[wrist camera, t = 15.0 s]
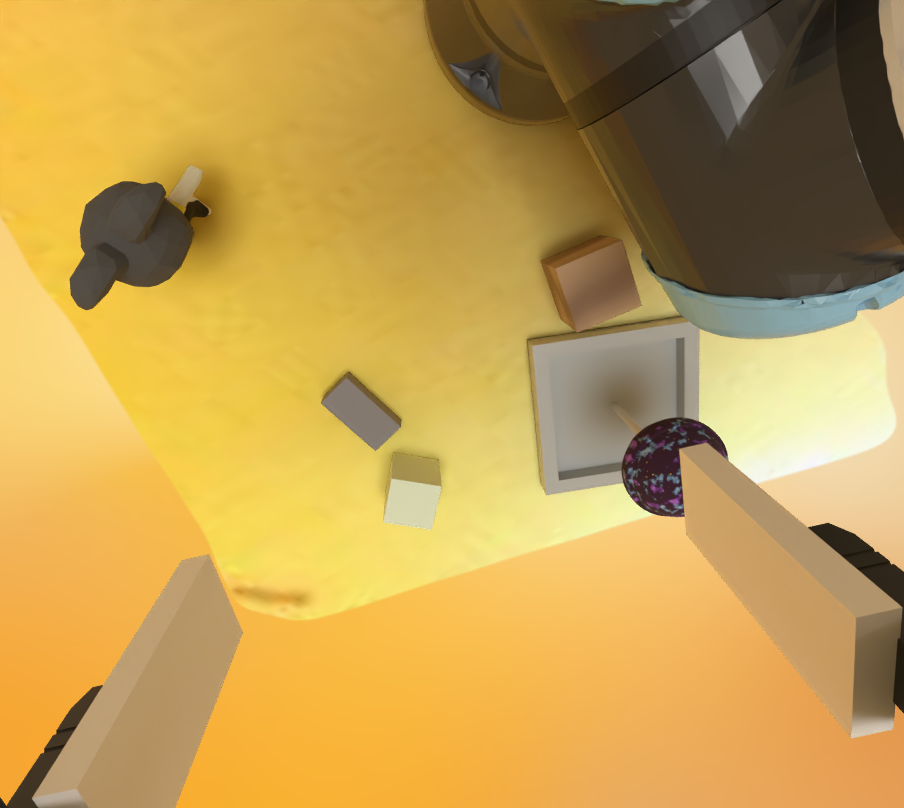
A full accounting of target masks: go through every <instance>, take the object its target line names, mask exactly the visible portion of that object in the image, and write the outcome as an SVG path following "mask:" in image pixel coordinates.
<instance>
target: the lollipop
mask: <svg viewBox="0 0 904 808" xmlns="http://www.w3.org/2000/svg"><path fill="white" fill-rule="evenodd" d="M611 408H612V409H613V411H614V412H615V413H616V414H617V415H618V416H619V417H620V418H621V419H622V420H623V421H624V422H625V423H626V424H627V425H628V426H629V427H630V429H631V430H632V431H633V432H634V433H635V434H636V436H635V437H634V438H633V439H632V441H631V442H630V444H629V446H628V448H627V450H626V452H625V454H624V457H623V461H622V469H621V471H622V479H623V483H624V486H625V488H626V490H627V492H628V494H629V495H630V497H631V498H632V499H633V500H634V501H635V503H637V504H638V505H639V506H640V507H641V508H643V509H644V510H646V511H648V512H650V513H653V514H656V515H660V516H670V517H685V513H684V501H683V489H682V477H681V465H680V453H679V449H681V448H686V447H690V446H695V445H699V444H704V443H708V444H709V445H710V446H711V447H713V448H714V449H715V450H716V451H717V452H718V453H720V454H721V455H722V456H723V457H724V458H726V459H727V460H728V454H727V450H726V448H725V445H724V443H723V441H722V440H721V439H720V437H719V436H718V435H717V434H716V433H715V432H714V431H713V430H712V429H711V428H709V427H708V426H706V425H705V424H703V423H701V422H699V421H697V420H694V419H690V418H683V417H675V418H668V419H664V420H661V421H658V422H655V423H653V424H650V425H649V426H647V427H645V428H644V429H642V428H641V427H640V426H639V425H638V424H637V423H636V422H635V421H634V420H633V419H632V418H631V417H630V416H629V415H628V414H627V413H626V412H625V411H624V410H623V409H622V408H621V407H620V406H619V405H618V404H617V403H616V402H614V403H612V404H611Z"/></svg>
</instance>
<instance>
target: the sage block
mask: <svg viewBox="0 0 904 808" xmlns="http://www.w3.org/2000/svg"><path fill="white" fill-rule="evenodd" d="M441 487H442V485H441V476H440V467H439V460H437V459H431V458H425V457H418V456H412V455H406V454H400V453H394V452H393V457H392V462H391V467H390V472H389V477H388V483H387V488H386V493H385V505H384V518H383V523H390V524H396V525H403V526H410V527H417V528H424V529H431V530H432V526H433V522H434V518H435V513H436V509H437V505H438V500H439V496H440V492H441Z"/></svg>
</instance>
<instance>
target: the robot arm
mask: <svg viewBox="0 0 904 808" xmlns="http://www.w3.org/2000/svg"><path fill="white" fill-rule="evenodd" d="M424 14H425V22H426V27H427V32H428V36H429V40H430V43H431V46H432V49H433V51H434V54H435V56H436V59H437V61H438V63H439V65H440V67H441V69H442V70H443V72H444V74H445V75H446V77H447V78H448V80H449V81H450V82H451V84H452V85H453V86H454V88H455V89H456V90H457V91H458V92H459V93H460V94H461V95H462V96H463V97H464V98H465V99H466V100H467V101H468V102H469V103H471V104H472V105H473V106H475V107H476V108H477V109H479V110H481V111H482V112H484V113H486V114H488V115H490V116H492V117H494V118H497V119H499V120H502V121H505V122H509V123H514V124H520V125H540V124H547V123H552V122H556V121H560V120H562V119H565V118H568V117H570V116H571V117H572V119H573V121H574V123H575V125H576V127H577V130H578V132H579V134H580V136H581V138H582V140H583V141H584V143H585V145H586V147H587V149H588V151H589V153H590V154H591V156H592V158H593V160H594V162H595V164H596V166H597V167H598V169H599V171H600V173H601V175H602V177H603V179H604V180H605V182H606V184H607V186H608V188H609V190H610V192H611V193H612V195H613V197H614V199H615V201H616V203H617V205H618V206H619V208H620V210H621V212H622V214H623V216H624V218H625V220H626V221H627V223H628V225H629V227H630V229H631V231H632V233H633V234H634V236H635V238H636V240H637V242H638V244H639V246H640V247H641V249H642V252H641V256H642V259H643V262H644V264H645V266H646V268H647V270H648V272H649V273H650V274H651V275H652V276H654V278H655V279H656V280H657V281H658V282H659V283H660V284H661V285H662V287H663V289H664V290H665V292H666V294H667V295H668V297H669V299H670V300H671V302H672V304H673V305H674V307H675V308H676V310H677V311H678V312H679V313H680V314H681V315H682V317H684V318H686V319H687V320H688V321H689V322H691V323H692V324H693V325H694V326H696V327H698V328H700V329H702V330H704V331H707V332H710V333H713V334H716V335H720V336H725V337H731V338H740V339H772V338H784V337H792V336H798V335H803V334H808V333H813V332H817V331H821V330H825V329H829V328H833V327H836V326H839V325H842V324H845V323H848V322H851V321H853V320H855V318H856V316H857V311H860V310H865V309H871V310H872V309H873V310H876V309H877V310H878V309H881V308H883V307H885V306H887V305H889V304H891V303H893V302H894V301H896V300H897V299H899V298H901V297H902V296H904V0H424ZM679 453H680V465H681V477H682V489H683V501H684V513H685V525H686V534H687V536H688V537H689V538H690V539H691V540H692V542H693V543H694V544H695V545H696V546H697V548H698V549H699V550H700V552H701V553H702V554H703V555H704V557H705V558H706V559H707V560H708V562H709V563H710V564H711V565H712V566H713V568H714V569H715V570H716V571H717V573H718V574H719V575H720V576H721V578H722V579H723V580H724V581H725V583H726V584H727V585H728V586H729V588H730V589H731V590H732V591H733V592H734V594H735V595H736V596H737V597H738V599H739V600H740V601H741V602H742V604H743V605H744V606H745V607H746V609H747V610H748V611H749V612H750V614H751V615H752V616H753V617H754V619H755V620H756V621H757V622H758V623H759V625H760V626H761V627H762V628H763V630H764V631H765V632H766V633H767V635H768V636H769V637H770V638H771V640H772V641H773V642H774V643H775V645H776V646H777V647H778V648H779V650H780V651H781V652H782V653H783V654H784V656H785V657H786V658H787V659H788V660H789V662H790V663H791V664H792V665H793V667H794V668H795V669H796V671H797V672H798V673H799V674H800V675H801V677H802V678H803V679H804V680H805V682H806V683H807V684H808V685H809V687H810V688H811V689H812V690H813V691H814V693H815V694H816V695H817V697H818V698H819V699H820V700H821V701H822V703H823V704H824V705H825V706H826V708H827V709H828V710H829V711H830V713H831V714H832V715H833V716H834V718H835V719H836V720H837V721H838V723H839V724H840V725H841V726H842V728H843V729H844V730H845V731H846V732H847V734H848V735H849V736H850V737H851V738H855V737H859V736H864V735H869V734H874V733H878V732H883V731H887V730H892V729H893V727H894V713H895V704H896V705H897V706H898V707H899V709H900V710H901V711H902V712H903V713H904V572H903V571H902V570H901V569H899V568H898V567H897V566H896V565H894V564H892V565H891V563H890V561H889V560H888V559H886V558H885V557H884V556H882V555H881V554H880V553H879V552H875V551H874V549H873V548H872V547H871V546H869V545H868V544H867V543H866V542H864V541H863V540H862V539H860V538H859V537H858V536H856V535H855V534H853V533H851V532H849V531H846V530H844V529H841V528H839V527H837V526H834V525H832V524H829V523H825V524H821V525H816V526H812V527H806V526H805V525H804V524H803V523H802V522H800V521H799V520H798V519H797V518H796V517H794V516H793V515H792V514H791V513H790V512H789V511H787V510H786V509H785V508H784V507H783V506H781V505H780V504H779V503H778V502H777V501H775V500H774V499H773V498H772V497H771V496H769V495H768V494H767V493H766V492H765V491H764V490H762V489H761V488H760V487H759V486H758V485H756V484H755V483H754V482H753V481H752V480H751V479H749V478H748V477H747V476H746V475H745V474H743V473H742V472H741V471H740V470H739V469H737V468H736V467H735V466H734V465H733V464H732V463H730V462H729V461H728V460H727V459H726V458H724V457H723V456H722V455H721V454H720V453H718V452H717V451H716V450H715V449H714V448H713V447H711V446H710V445H709V444H708V443H704V444H699V445H695V446H690V447H686V448H681V449H679ZM242 634H243V632H242V629H241V627H240V625H239V622H238V620H237V618H236V616H235V613H234V611H233V609H232V606H231V604H230V602H229V599H228V597H227V595H226V592H225V590H224V588H223V585H222V583H221V581H220V579H219V576H218V574H217V572H216V569H215V567H214V565H213V562H212V560H211V558H210V556H209V555H203V556H199V557H195V558H190V559H186V560H182V561H181V563H180V564H179V566H178V567H177V569H176V570H175V572H174V574H173V575H172V577H171V578H170V580H169V582H168V583H167V585H166V586H165V588H164V589H163V591H162V593H161V594H160V596H159V597H158V599H157V601H156V602H155V604H154V605H153V607H152V609H151V610H150V612H149V613H148V615H147V616H146V618H145V620H144V621H143V623H142V624H141V626H140V628H139V629H138V631H137V632H136V634H135V635H134V637H133V639H132V640H131V642H130V643H129V645H128V647H127V648H126V650H125V651H124V653H123V655H122V656H121V658H120V660H119V661H118V663H117V664H116V666H115V667H114V669H113V670H112V672H111V674H110V675H109V677H108V678H107V680H106V682H105V683H104V685H101V686H97V687H93V688H91V689H90V690H89V691H88V693H86V694H85V695H84V696H83V697H82V698H81V699H80V700H79V701H78V702H77V703H76V704H75V705H74V706H73V707H72V708H71V709H70V711H69V712H68V714H67V715H66V717H65V718H64V720H63V721H62V723H61V724H60V726H59V728H58V729H57V730H56V731H57V733H56V735H53V736H52V738H51V740H50V741H49V742H48V744H47V745H46V747H45V748H44V750H45V751H44V753H42V754H40V756H39V758H38V759H37V761H36V762H35V764H34V765H33V767H32V768H31V770H30V771H29V773H28V774H27V776H26V777H25V779H24V780H23V782H22V783H21V785H20V786H19V788H18V789H17V791H16V792H15V794H14V795H13V797H12V798H11V800H10V801H9V803H8V804H7V806H6V805H5V803H4V802H3V801H2V799H1V798H0V808H175V807H176V804H177V802H178V799H179V797H180V794H181V791H182V789H183V786H184V784H185V781H186V778H187V776H188V773H189V771H190V768H191V765H192V763H193V760H194V758H195V755H196V753H197V750H198V747H199V745H200V742H201V740H202V737H203V734H204V731H205V729H206V727H207V724H208V721H209V719H210V716H211V714H212V711H213V709H214V706H215V703H216V701H217V698H218V696H219V693H220V690H221V688H222V685H223V683H224V680H225V677H226V675H227V672H228V670H229V667H230V664H231V662H232V659H233V657H234V654H235V651H236V649H237V646H238V644H239V641H240V639H241V636H242Z"/></svg>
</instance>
